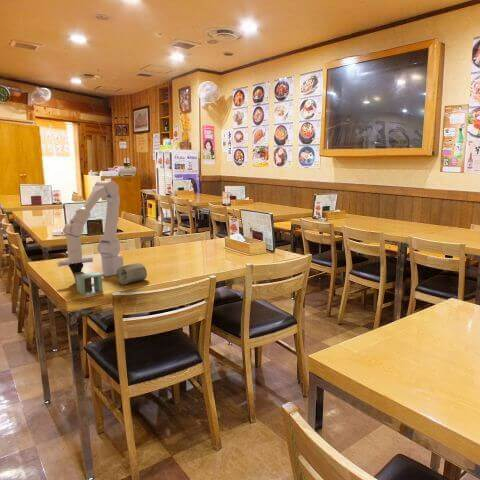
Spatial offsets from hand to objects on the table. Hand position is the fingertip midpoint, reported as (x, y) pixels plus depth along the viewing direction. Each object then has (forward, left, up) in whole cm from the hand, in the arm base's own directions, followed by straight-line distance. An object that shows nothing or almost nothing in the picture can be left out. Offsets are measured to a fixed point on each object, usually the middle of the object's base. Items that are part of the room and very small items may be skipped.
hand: (76, 280), depth 180 cm
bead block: (0, +17, -1) cm, 17 cm away
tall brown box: (0, +9, -1) cm, 9 cm away
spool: (-19, +15, -1) cm, 25 cm away
